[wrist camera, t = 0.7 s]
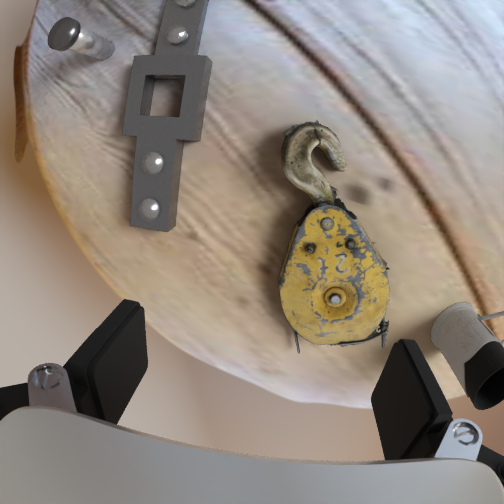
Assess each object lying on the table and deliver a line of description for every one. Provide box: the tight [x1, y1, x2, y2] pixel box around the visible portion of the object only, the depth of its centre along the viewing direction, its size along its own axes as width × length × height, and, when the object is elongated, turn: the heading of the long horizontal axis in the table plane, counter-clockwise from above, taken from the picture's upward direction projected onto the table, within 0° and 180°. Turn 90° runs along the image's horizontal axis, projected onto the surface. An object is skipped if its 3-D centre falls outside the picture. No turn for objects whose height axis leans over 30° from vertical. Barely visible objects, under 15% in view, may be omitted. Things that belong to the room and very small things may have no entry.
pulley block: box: [278, 121, 389, 353], centre depth 37 cm, size 14×6×30 cm
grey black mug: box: [431, 302, 504, 410], centre depth 33 cm, size 9×14×15 cm, turn 137°
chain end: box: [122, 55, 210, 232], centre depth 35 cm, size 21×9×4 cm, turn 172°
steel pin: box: [48, 17, 114, 60], centre depth 28 cm, size 4×4×10 cm
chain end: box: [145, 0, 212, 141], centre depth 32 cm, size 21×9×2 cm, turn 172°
